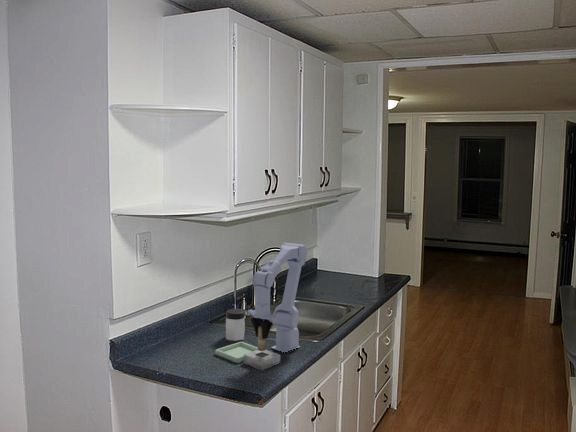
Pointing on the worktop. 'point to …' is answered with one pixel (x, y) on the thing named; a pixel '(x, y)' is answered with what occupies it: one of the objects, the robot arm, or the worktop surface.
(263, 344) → the pin
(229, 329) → the jar
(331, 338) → the worktop surface
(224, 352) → the tray
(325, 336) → the worktop surface
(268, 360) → the socket block
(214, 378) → the worktop surface
